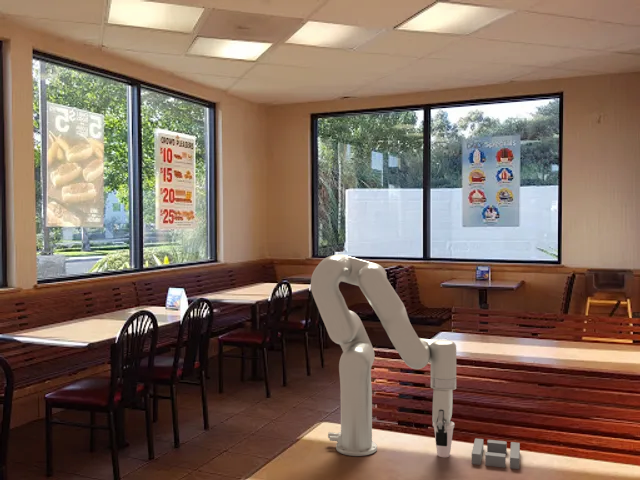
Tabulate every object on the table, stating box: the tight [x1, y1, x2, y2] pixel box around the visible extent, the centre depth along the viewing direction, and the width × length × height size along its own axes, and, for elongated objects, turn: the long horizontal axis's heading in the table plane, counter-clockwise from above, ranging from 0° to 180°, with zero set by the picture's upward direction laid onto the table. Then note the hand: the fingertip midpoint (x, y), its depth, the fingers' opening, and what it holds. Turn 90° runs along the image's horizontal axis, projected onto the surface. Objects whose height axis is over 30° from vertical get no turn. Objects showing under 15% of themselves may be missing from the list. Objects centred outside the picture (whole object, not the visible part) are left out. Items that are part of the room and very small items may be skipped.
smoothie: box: [432, 420, 455, 458], centre depth 184 cm, size 6×6×14 cm
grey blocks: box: [471, 437, 521, 470], centre depth 182 cm, size 13×13×3 cm
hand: (443, 440), depth 184 cm, fingers open, 8 cm apart
